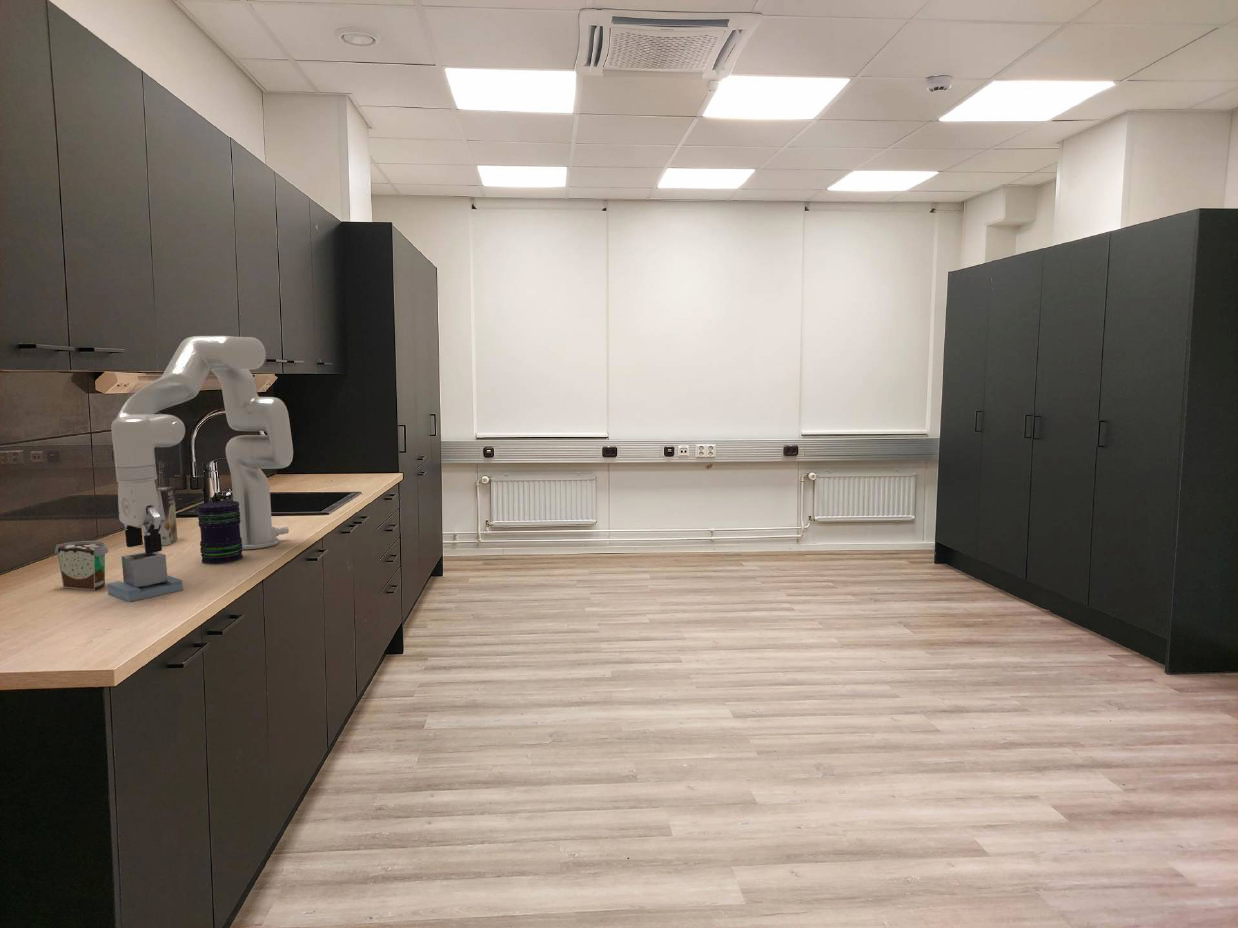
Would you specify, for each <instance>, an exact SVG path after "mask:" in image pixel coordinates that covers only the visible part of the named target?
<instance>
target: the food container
mask: <svg viewBox="0 0 1238 928" xmlns="http://www.w3.org/2000/svg"><path fill="white" fill-rule="evenodd" d="M55 546H56V547H55V549H54V550H55V551H54V554H57V558H58V564H59V571H60V576H61V582H62V583H61V584H62V588H64V589H74V590H75V589H76V590H84V591H85V590H86V591H98V590H100V589H102V588H104V587H105V586H106V581H105V580H106V579H105V578H106V554H108V552H109V548H108V547H107V545H106V543H105V542H104V541H100V540H82V541H72V542H65V543H61V544H56V545H55Z"/></svg>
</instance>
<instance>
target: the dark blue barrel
mask: <svg viewBox="0 0 1238 928" xmlns="http://www.w3.org/2000/svg"><path fill="white" fill-rule="evenodd" d="M197 509H198V511H197V513H198V515H197V520H198V527H199V530H200V531H199V532H200V542H199V545H200V555H201V563H202V564H204V565H224V564H230V563H235V562H238V561H241V560H242V559H243V557H244V556H243V549H242V548H243V546H242V538H241V537H240V523H241V522H240V521H241V520H240V512H239V511H240V509H239V502H237V501H233V500H220V501H211V502H203V503H200V504H197Z"/></svg>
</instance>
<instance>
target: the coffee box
mask: <svg viewBox="0 0 1238 928" xmlns="http://www.w3.org/2000/svg"><path fill="white" fill-rule="evenodd" d="M156 491H157V497H158V504H159V513H160V517H161V522H160V524H161V528H160V530H161V544H162V547H164V546H170V545H171V544H173V543H174V542H175V541H177V540H178V528H177V527H178V525H177V514H176V513H177V512H176V511H177V510H176V501H175V486H157V487H156ZM147 527H148V529H149V527H150V526H147ZM143 533H144V535H143V536H146V535H145V532H144V531H143Z"/></svg>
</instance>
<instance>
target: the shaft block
mask: <svg viewBox="0 0 1238 928" xmlns="http://www.w3.org/2000/svg"><path fill="white" fill-rule="evenodd" d="M167 578H168V581H165V582H160V583H155V584H150V585H145V586H140V587H133V586H130V585H128V584H126V583H124V581H119V580H118V581H113V582H109V583H107V585H106V586H107V593H108V594H109V595H111V596H113V597H116V598H118V599H121V600H123V601H126V602H128V603H130V602H135V601H141V600H144V599H149V598H152V597H153V598H154V597H158V596H161V595H167V594H172V593H175V592H181V591H183V590H184V589H183V588H184V587H183V585H184V584H183V580H182V579H180V578H177V577H174V576H171V575H168V574H167Z"/></svg>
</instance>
